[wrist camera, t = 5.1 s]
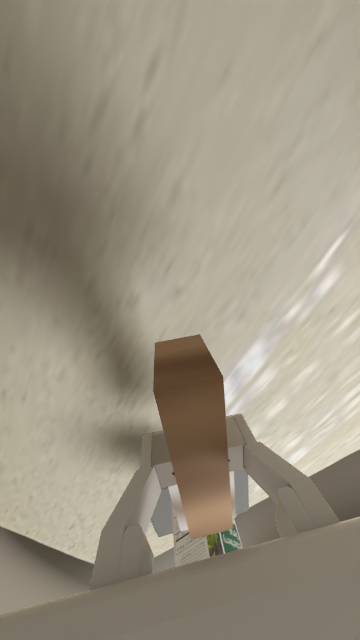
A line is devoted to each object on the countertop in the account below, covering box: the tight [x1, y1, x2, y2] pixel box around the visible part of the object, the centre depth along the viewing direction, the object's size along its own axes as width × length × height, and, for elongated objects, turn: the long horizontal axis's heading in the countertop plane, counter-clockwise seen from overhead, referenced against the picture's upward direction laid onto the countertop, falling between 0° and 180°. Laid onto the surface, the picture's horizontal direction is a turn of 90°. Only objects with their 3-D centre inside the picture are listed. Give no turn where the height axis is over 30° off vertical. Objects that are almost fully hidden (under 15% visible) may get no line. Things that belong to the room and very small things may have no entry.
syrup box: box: [171, 499, 243, 567], centre depth 20 cm, size 6×6×14 cm
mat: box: [151, 469, 249, 537], centre depth 31 cm, size 18×14×1 cm
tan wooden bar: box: [153, 335, 236, 540], centre depth 11 cm, size 18×5×4 cm, turn 8°
